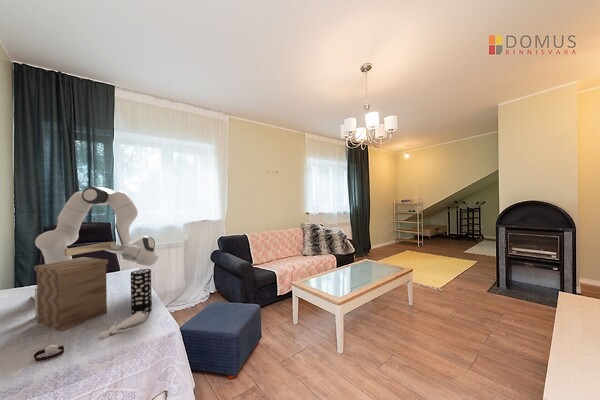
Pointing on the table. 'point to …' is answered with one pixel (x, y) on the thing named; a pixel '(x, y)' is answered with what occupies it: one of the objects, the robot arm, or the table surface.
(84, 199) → the robot arm
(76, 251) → the rod
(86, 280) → the stand
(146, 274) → the white-spotted black cylinder
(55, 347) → the watch
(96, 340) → the table surface
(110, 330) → the woman figurine
